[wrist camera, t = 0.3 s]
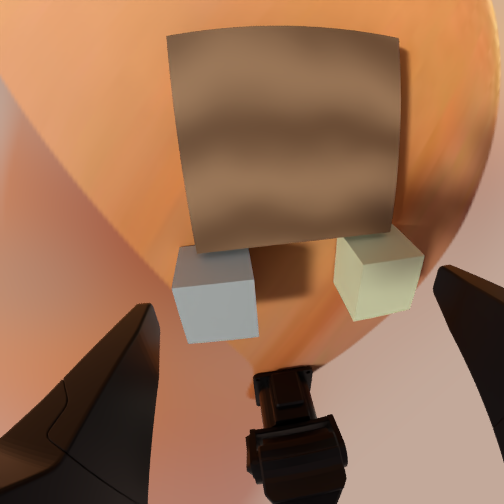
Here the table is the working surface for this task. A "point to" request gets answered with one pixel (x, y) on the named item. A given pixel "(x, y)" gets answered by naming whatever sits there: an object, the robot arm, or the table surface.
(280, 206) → the walnut base
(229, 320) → the slate block
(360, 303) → the sage block
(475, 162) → the table surface
